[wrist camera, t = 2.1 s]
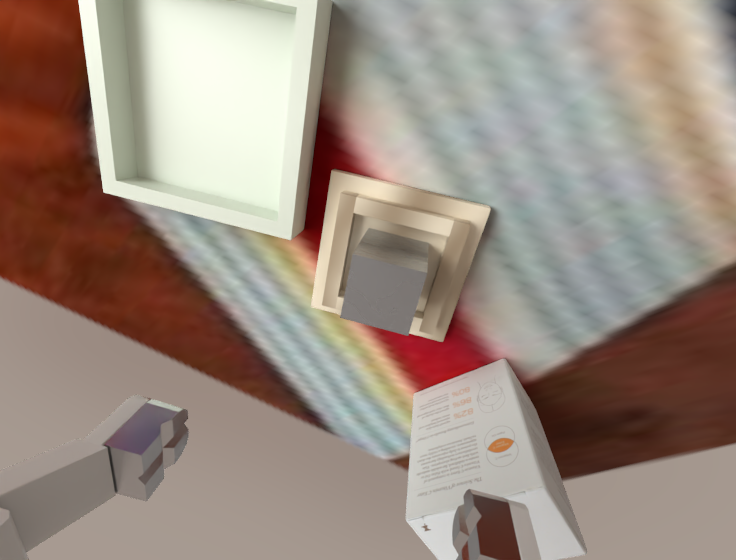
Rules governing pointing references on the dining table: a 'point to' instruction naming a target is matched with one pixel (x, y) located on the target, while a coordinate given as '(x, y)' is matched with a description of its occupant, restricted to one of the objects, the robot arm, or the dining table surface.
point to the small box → (485, 460)
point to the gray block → (385, 281)
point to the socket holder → (404, 218)
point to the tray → (209, 104)
